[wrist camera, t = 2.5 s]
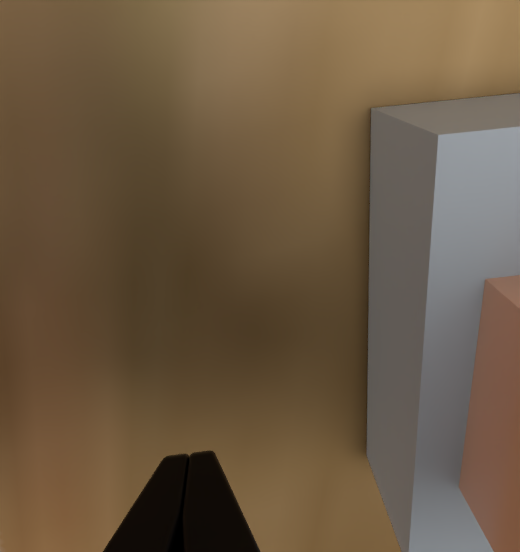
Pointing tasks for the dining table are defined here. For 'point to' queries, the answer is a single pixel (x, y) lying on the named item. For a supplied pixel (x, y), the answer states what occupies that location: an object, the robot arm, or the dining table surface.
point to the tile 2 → (495, 418)
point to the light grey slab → (434, 299)
